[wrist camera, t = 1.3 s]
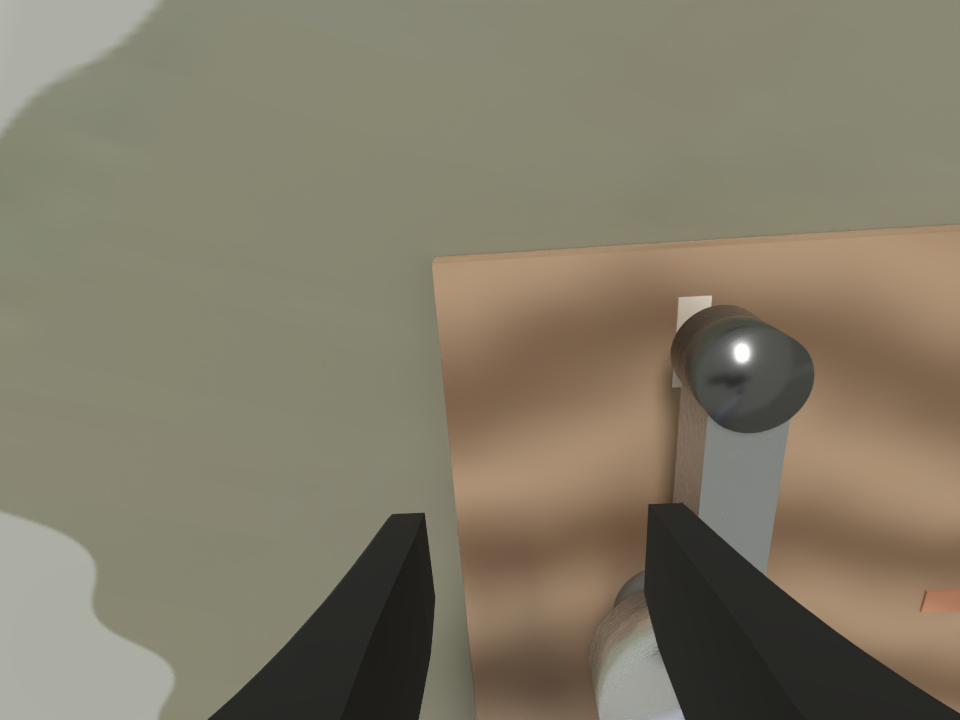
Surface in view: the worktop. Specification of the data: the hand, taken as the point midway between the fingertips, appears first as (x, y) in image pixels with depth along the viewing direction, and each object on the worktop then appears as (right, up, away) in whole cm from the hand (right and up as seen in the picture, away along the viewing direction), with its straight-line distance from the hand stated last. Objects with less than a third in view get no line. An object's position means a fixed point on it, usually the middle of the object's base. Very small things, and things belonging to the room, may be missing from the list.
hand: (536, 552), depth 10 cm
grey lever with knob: (+6, -3, +7) cm, 10 cm away
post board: (+9, -3, +11) cm, 14 cm away
